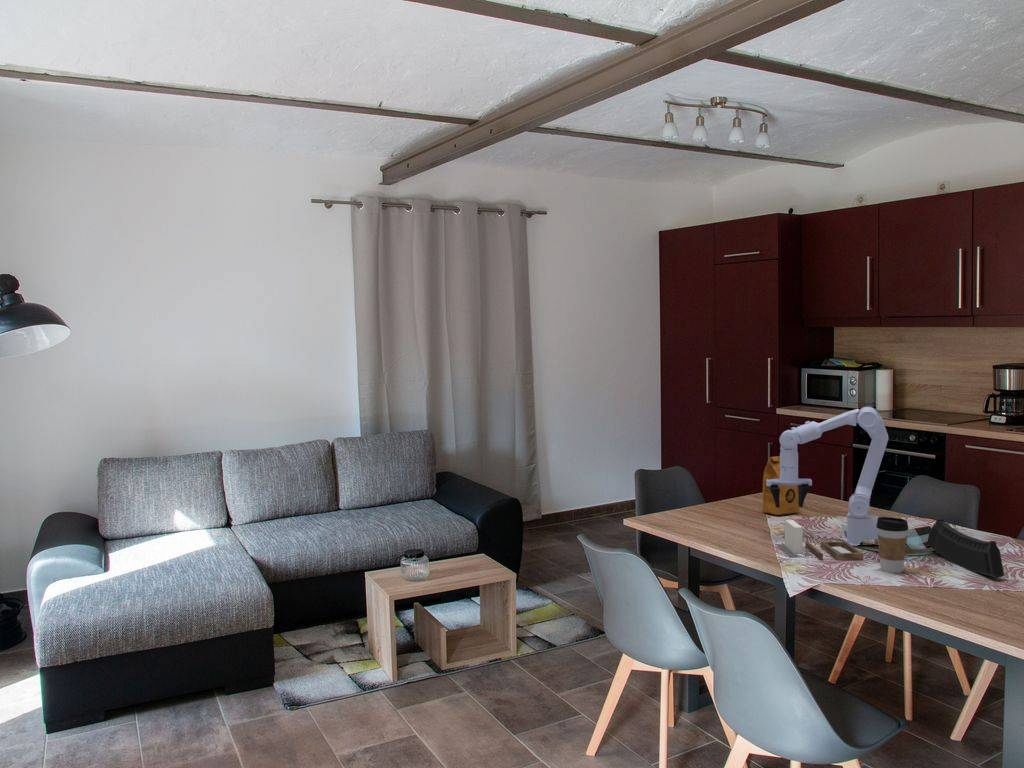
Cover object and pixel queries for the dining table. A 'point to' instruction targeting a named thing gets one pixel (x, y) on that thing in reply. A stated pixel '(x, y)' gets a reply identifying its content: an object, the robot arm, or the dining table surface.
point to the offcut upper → (841, 550)
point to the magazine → (966, 550)
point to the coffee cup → (892, 543)
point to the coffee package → (787, 493)
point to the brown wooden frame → (838, 556)
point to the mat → (788, 552)
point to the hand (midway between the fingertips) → (788, 506)
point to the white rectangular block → (793, 537)
